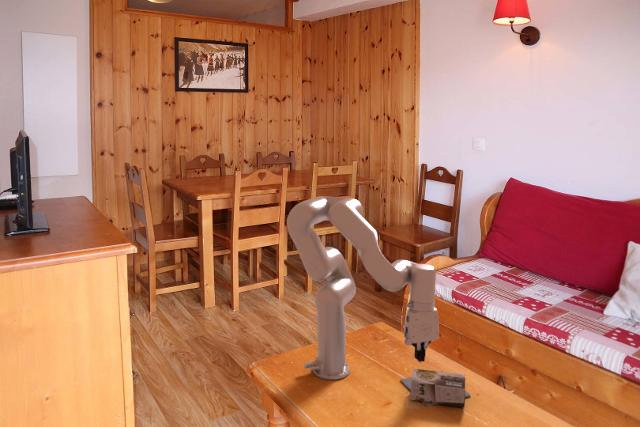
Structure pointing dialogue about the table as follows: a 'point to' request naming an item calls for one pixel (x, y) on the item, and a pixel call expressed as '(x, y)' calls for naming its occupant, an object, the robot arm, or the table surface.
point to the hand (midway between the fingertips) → (419, 359)
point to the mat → (408, 384)
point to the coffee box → (438, 387)
